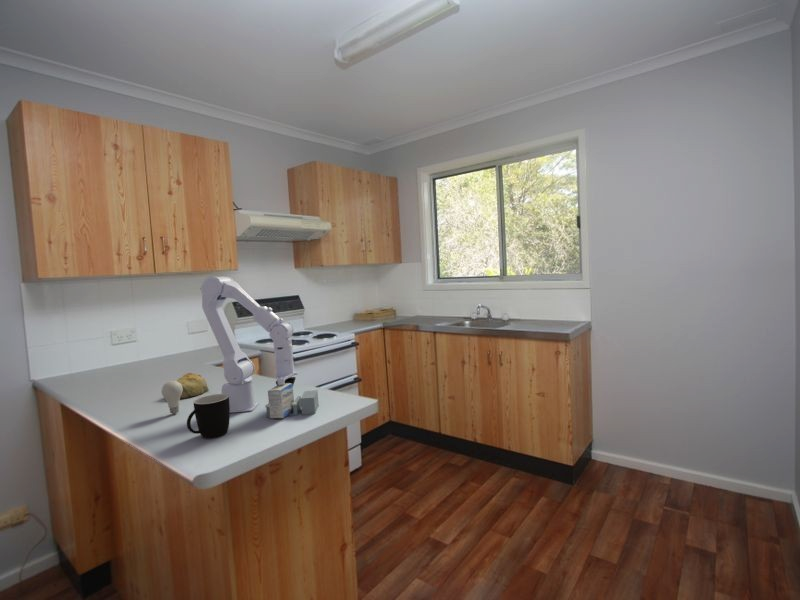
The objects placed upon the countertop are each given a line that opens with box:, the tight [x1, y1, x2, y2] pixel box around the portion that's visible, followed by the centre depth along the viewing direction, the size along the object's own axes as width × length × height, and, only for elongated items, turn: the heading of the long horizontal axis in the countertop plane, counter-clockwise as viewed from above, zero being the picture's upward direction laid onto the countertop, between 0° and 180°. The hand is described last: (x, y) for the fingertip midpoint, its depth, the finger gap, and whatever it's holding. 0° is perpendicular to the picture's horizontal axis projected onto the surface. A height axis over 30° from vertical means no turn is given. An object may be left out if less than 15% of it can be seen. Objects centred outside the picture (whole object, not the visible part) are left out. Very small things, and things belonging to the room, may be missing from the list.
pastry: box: [176, 372, 209, 399], centre depth 161 cm, size 14×12×8 cm
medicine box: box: [267, 383, 295, 419], centre depth 130 cm, size 8×4×9 cm, turn 168°
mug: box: [186, 393, 231, 440], centre depth 116 cm, size 12×9×10 cm
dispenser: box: [264, 389, 319, 418], centre depth 133 cm, size 15×9×5 cm, turn 93°
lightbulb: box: [161, 380, 183, 415], centre depth 138 cm, size 6×6×11 cm
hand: (287, 400), depth 138 cm, fingers closed
